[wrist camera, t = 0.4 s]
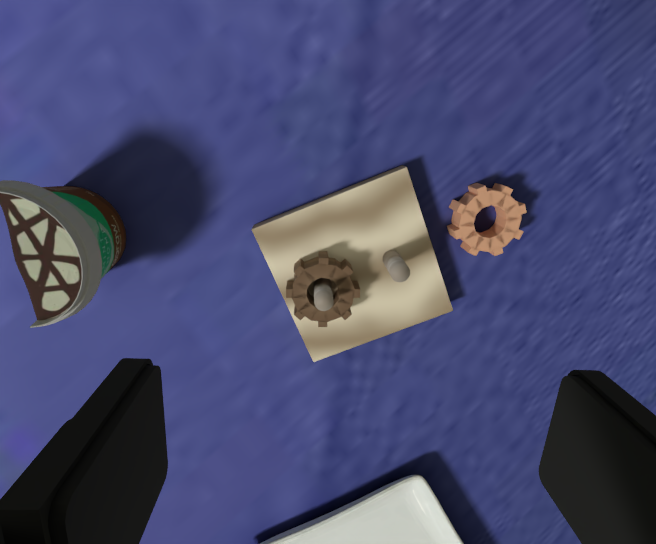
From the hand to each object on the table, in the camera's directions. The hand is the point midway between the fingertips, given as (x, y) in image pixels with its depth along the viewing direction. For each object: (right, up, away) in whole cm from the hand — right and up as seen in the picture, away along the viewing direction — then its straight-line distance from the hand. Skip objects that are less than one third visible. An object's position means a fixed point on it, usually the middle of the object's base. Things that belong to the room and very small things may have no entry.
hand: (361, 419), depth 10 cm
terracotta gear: (+15, +9, +34) cm, 38 cm away
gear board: (+2, +4, +35) cm, 35 cm away
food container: (-23, +8, +33) cm, 41 cm away
